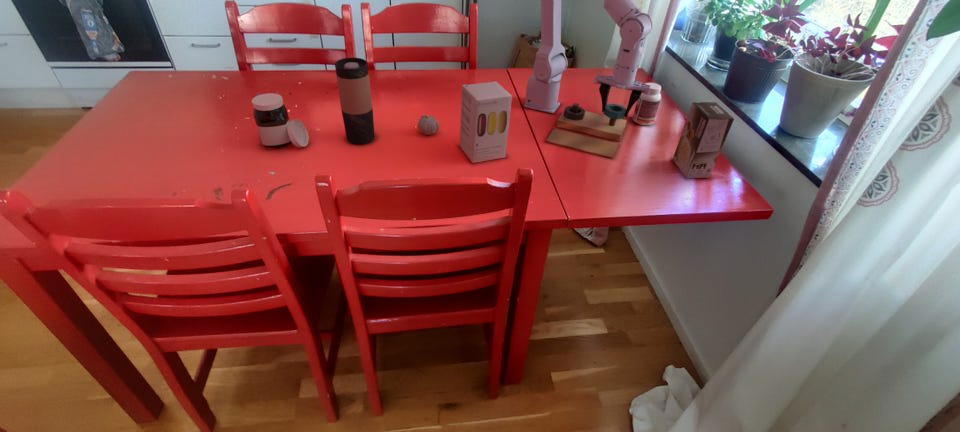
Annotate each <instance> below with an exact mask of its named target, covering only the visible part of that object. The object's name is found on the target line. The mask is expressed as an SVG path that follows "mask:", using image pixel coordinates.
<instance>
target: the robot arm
mask: <svg viewBox="0 0 960 432" xmlns="http://www.w3.org/2000/svg"><path fill="white" fill-rule="evenodd" d="M603 8H604V9H605V11H606V12H607V13H608V15H609V16H610V17H611V19H612V20H613V22H614V23H615V24H616V25H617V27H618V28H619V32H618V33H619V36H620V39H621V40H620V44H619V48H618V52H617V56H616V61H615V65H614V68H613V72H612V73H613V74H612V75H605V74H604V75H603V74H596V75H595V76H594V80H593V84H594V85H599V88H598V92H599V95H600V99H601V112H602V113H604V110H605V107H606V105H608V99H609V95H610V92H611V89H612V87H613V88H616V89H618V90H627V91H631V92H630V94H629V99H628V103H627V107H626V112H625V115H624V118H627V117H628V115H629V113H630V111H631V109H632V108H633V106H634V105H636V103H637V100H638V99H639V98H640V96H641V93H644V94H645V95H648V94H649V91H650V88H651V85H647V84H645V83H644V82H641V81H637V80H635V79H636V76H637V74H638V73H637V72H638V69H639V65H640V60H641V59H642V54H643V51H644V46H645V42H646V37H647V36H648V35H649V34H650V33H651V31H652V29H653V21H652V18H651V17H650V15H649V14H648V13H646V12H642V10H641V8H639V7H637V5H635V3H634V2H633V0H603ZM540 20H541V21H540V46H539V48H538V49H537V51H536V53H535V61H534V63H533V66H532V72H533V74H530V76H529V78H528V80H527V85H526V89H525V100H524V104H523V107H524V108H527V109H532V110H537V111H540V112H544V113H549V114H554V113H555V112H556V111H557V109H558V108H559V107H560V106H561V102H560V101H558V99H559V95H560V87H561V81H562V76H563V73H564V72H565V71H566V70H567V68H568V65H569V64H568V62H569V61H568V59H567V56H566V48H565V46H563V44H562V0H540Z"/></svg>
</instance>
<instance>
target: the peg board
mask: <svg viewBox="0 0 960 432" xmlns="http://www.w3.org/2000/svg"><path fill="white" fill-rule="evenodd" d="M571 106H572V111H571V112H574V113H578V109H579V107H580V103H576V102H573V103H572V105H571ZM627 123H628V120H627V119H624V118H623V119H613V118H608V117H607V116H606V115H605V114H601V113H597V112H592V111H588V110H585V115H584V118H583V119H582V120H576V121H575V120H571V119H567V118H566V117H565V116H564V110H563V111H562V113H561V114H560V115H559V117H558V118H557V120H556V124H555V126H556V127H557V128H561V129H566V130H568V131H569V130H570V131H574V132H578V133H582V134H587V135H591V136H595V137H599V138H603V139H607V140H612V141H616V142H620V141H621V138H622V136H623V134H624V132H625V128H626V126H627Z"/></svg>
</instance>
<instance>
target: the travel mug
mask: <svg viewBox="0 0 960 432" xmlns="http://www.w3.org/2000/svg"><path fill="white" fill-rule="evenodd" d="M334 68H335V75H336V83H337V91H338V96H339V97H338V98H339V103H340V110H341V115H342V121H343V125H344V131H345V136H346V141H347V142H348V143H349V144H351V145H356V146H363V145H368V144H369V143H372V142H373V141H374V140H375V123H374V122H375V121H374V109H373V100H372V92H371V82H370V74H369V73H370V72H369V66H368V62H367V60H366V59H364V58H361V57H345V58H341V59H338V60H336V61H335V62H334Z"/></svg>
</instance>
